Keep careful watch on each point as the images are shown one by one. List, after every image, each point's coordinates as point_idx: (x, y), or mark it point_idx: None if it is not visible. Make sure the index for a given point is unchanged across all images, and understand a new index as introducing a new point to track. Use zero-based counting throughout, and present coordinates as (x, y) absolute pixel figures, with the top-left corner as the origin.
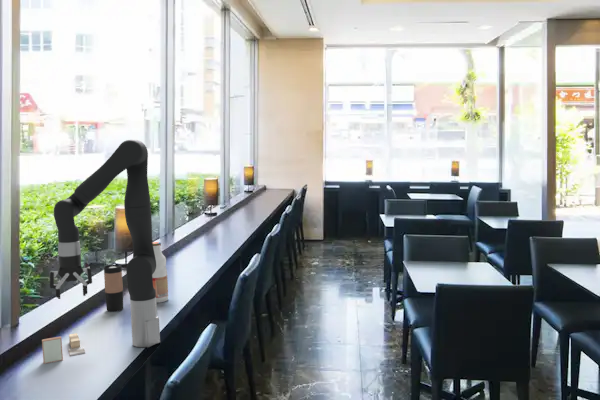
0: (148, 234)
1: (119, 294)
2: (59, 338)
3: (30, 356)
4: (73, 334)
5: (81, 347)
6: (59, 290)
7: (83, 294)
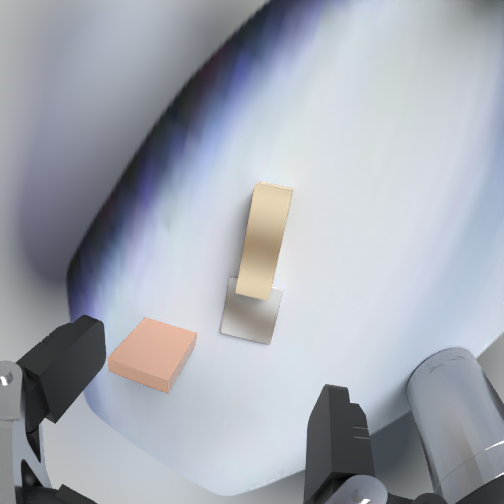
0: None
1: None
2: (162, 389)
3: (116, 237)
4: (271, 201)
5: (274, 294)
6: (58, 413)
7: (310, 426)
